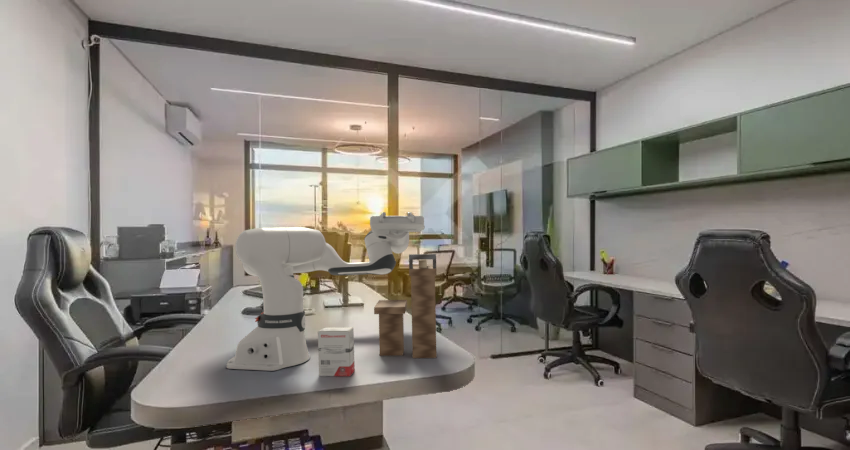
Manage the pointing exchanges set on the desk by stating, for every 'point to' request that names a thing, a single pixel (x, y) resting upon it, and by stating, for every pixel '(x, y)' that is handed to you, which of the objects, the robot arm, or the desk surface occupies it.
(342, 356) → the ink box
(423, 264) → the handle
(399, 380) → the desk surface
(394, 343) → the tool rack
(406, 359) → the desk surface
